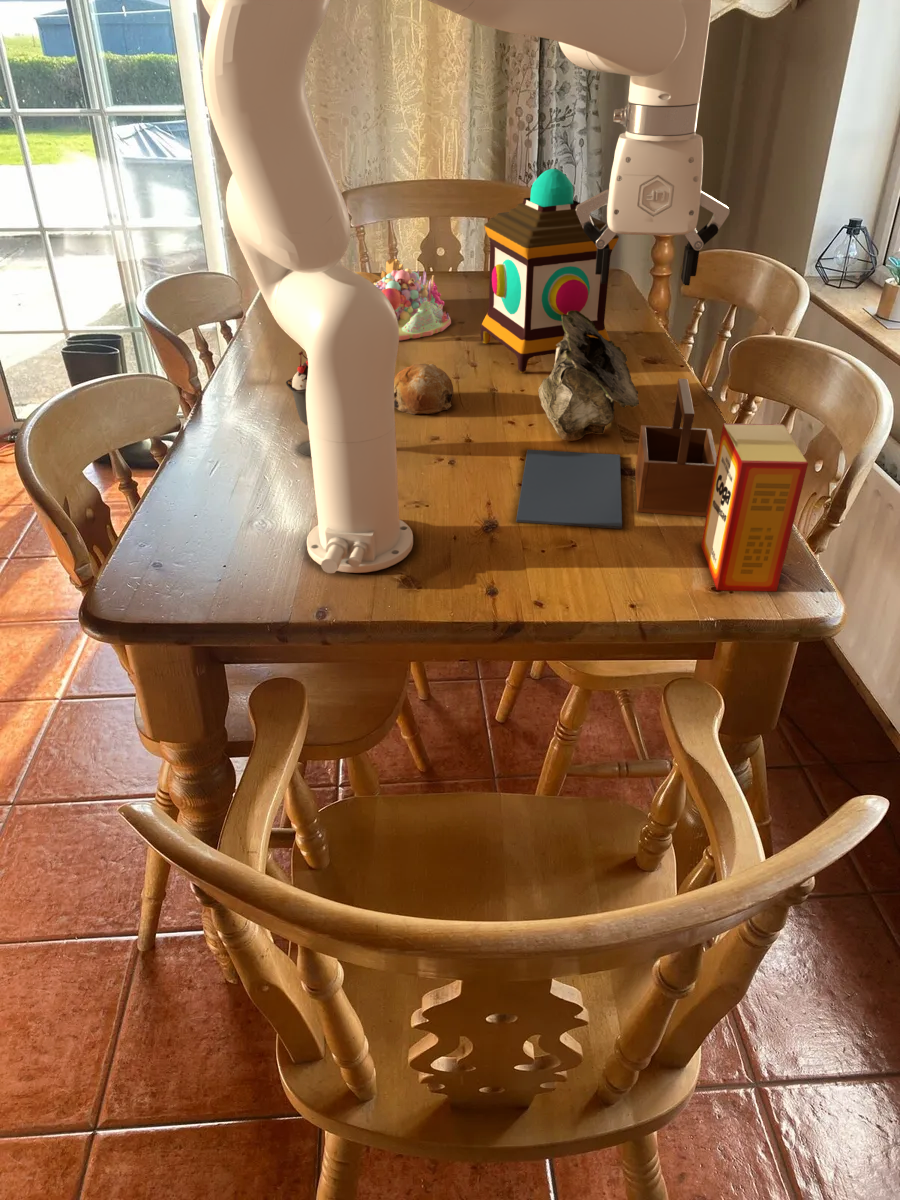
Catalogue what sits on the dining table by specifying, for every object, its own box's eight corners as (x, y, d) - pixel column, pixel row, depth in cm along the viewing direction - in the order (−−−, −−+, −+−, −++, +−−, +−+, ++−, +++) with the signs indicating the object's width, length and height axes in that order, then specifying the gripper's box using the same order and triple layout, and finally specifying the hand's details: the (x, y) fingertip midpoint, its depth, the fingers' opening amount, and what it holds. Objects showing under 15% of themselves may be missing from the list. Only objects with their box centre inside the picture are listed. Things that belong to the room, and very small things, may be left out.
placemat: (621, 529, 112) (622, 526, 111) (516, 522, 113) (516, 519, 113) (619, 457, 128) (620, 454, 127) (527, 451, 129) (527, 449, 129)
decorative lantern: (620, 362, 158) (640, 174, 141) (516, 378, 152) (524, 184, 135) (566, 327, 173) (578, 154, 156) (470, 341, 167) (472, 162, 150)
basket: (710, 517, 114) (728, 415, 106) (637, 512, 115) (650, 411, 107) (702, 476, 123) (719, 380, 115) (635, 472, 124) (647, 376, 116)
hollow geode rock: (578, 403, 155) (520, 336, 151) (639, 354, 149) (580, 284, 145) (569, 472, 132) (500, 396, 128) (640, 419, 126) (570, 337, 121)
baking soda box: (701, 545, 108) (723, 420, 99) (756, 546, 108) (784, 421, 99) (717, 590, 101) (743, 459, 91) (776, 591, 100) (808, 460, 91)
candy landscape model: (307, 316, 179) (303, 268, 174) (399, 292, 192) (398, 246, 187) (387, 348, 164) (385, 296, 159) (481, 320, 177) (482, 271, 172)
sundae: (296, 462, 127) (285, 357, 118) (290, 442, 132) (279, 340, 124) (343, 456, 128) (335, 352, 120) (335, 436, 134) (327, 336, 125)
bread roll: (434, 439, 141) (455, 396, 136) (374, 408, 140) (394, 364, 135) (446, 413, 149) (467, 372, 144) (391, 384, 148) (410, 342, 143)
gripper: (581, 126, 97) (571, 289, 107) (748, 126, 95) (722, 292, 105) (581, 116, 103) (571, 271, 113) (737, 116, 101) (713, 273, 111)
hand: (644, 281), depth 109 cm, fingers open, 9 cm apart
